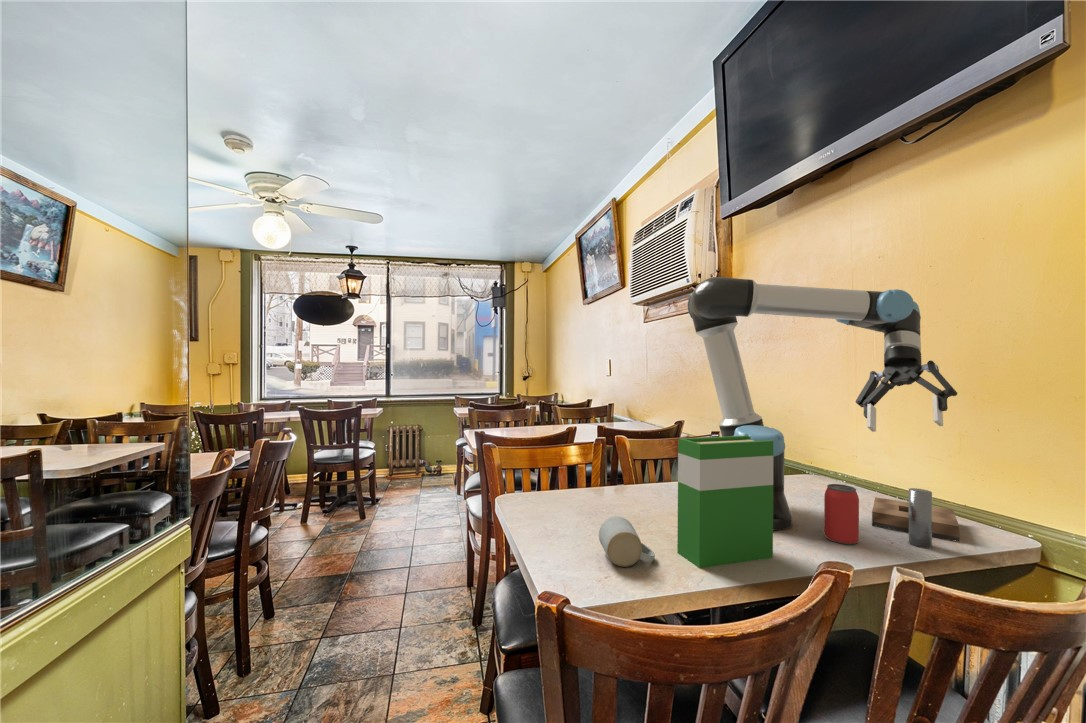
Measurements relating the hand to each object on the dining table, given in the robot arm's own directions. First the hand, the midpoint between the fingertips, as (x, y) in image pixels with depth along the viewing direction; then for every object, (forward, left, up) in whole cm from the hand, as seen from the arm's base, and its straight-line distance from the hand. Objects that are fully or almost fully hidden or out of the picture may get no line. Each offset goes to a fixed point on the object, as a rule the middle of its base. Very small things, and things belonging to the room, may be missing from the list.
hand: (903, 426), depth 108 cm
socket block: (+2, +9, -25) cm, 27 cm away
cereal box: (-29, -41, -26) cm, 56 cm away
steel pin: (+3, -7, -25) cm, 26 cm away
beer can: (-11, -15, -26) cm, 31 cm away
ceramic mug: (-44, -55, -26) cm, 75 cm away
